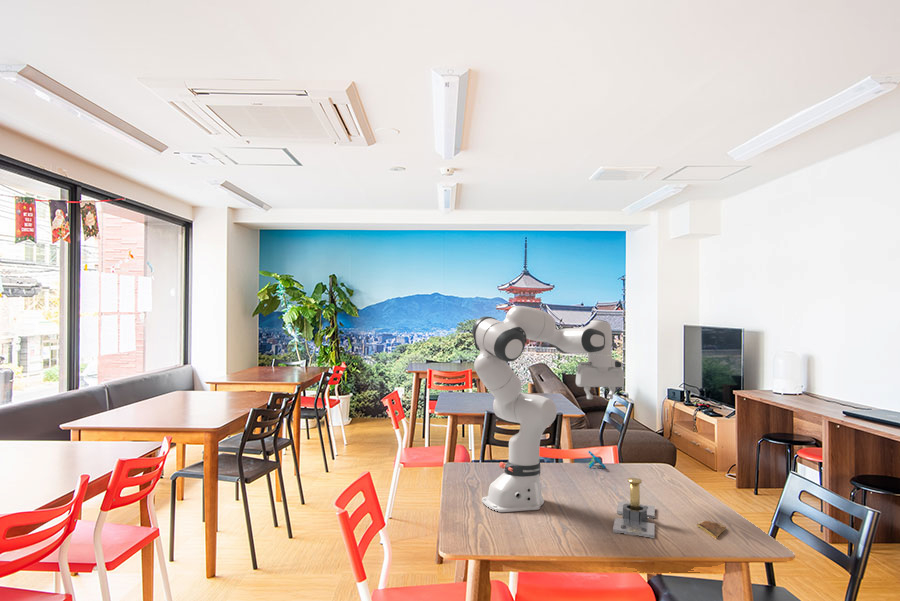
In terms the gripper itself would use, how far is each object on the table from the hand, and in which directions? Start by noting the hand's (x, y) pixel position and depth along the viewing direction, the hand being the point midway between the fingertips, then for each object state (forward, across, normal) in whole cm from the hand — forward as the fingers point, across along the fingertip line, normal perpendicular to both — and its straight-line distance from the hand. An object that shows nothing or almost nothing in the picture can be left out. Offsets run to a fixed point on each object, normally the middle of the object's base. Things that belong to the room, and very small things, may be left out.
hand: (599, 399), depth 192 cm
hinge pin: (+37, -3, -22) cm, 43 cm away
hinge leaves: (+37, -3, -22) cm, 43 cm away
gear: (+34, +24, +33) cm, 54 cm away
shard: (+38, +15, -38) cm, 56 cm away
